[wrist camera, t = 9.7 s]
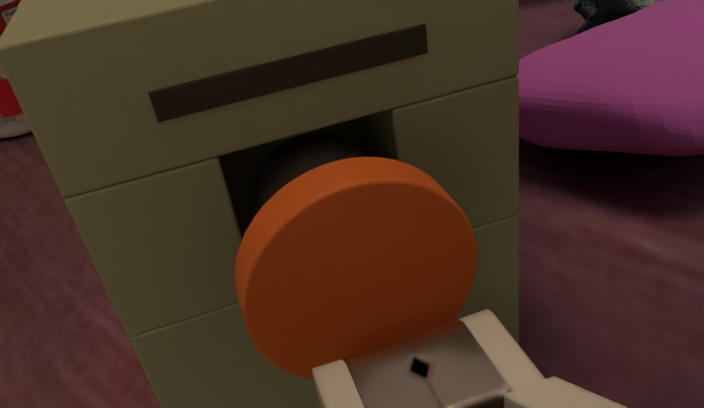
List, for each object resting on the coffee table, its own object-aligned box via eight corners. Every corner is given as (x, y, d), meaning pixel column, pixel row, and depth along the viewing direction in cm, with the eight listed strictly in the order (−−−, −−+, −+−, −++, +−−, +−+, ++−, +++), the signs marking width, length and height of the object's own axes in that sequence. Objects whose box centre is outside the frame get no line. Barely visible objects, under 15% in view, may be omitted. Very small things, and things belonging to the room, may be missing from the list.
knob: (482, 338, 13) (474, 148, 11) (272, 412, 13) (212, 225, 10) (411, 239, 17) (392, 75, 14) (241, 292, 16) (189, 128, 13)
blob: (690, 58, 34) (705, -38, 31) (898, 138, 25) (945, 13, 22) (450, 128, 31) (443, 29, 29) (587, 246, 22) (596, 118, 20)
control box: (521, 356, 19) (523, -71, 12) (191, 475, 17) (-10, 48, 11) (437, 246, 24) (407, -99, 17) (175, 329, 22) (32, -21, 16)
